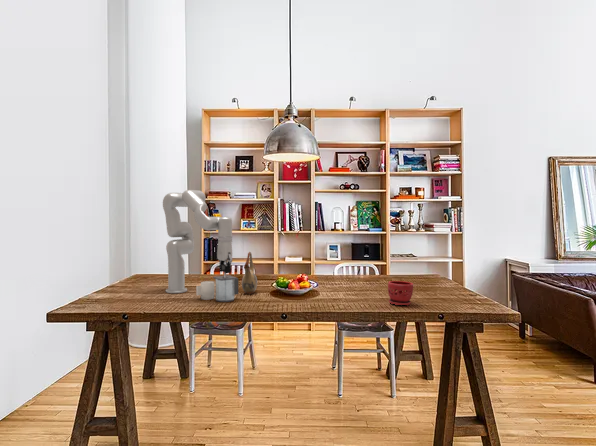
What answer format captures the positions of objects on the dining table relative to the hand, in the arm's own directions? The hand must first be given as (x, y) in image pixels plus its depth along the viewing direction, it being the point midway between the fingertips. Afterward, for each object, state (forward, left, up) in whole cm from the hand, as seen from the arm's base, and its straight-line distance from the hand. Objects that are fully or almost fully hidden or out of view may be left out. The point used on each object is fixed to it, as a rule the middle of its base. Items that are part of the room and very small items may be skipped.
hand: (225, 271), depth 221 cm
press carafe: (0, +1, -16) cm, 16 cm away
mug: (-10, -7, -16) cm, 20 cm away
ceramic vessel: (-8, +20, -16) cm, 27 cm away
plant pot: (+62, +73, -16) cm, 97 cm away
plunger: (0, 0, -12) cm, 12 cm away
